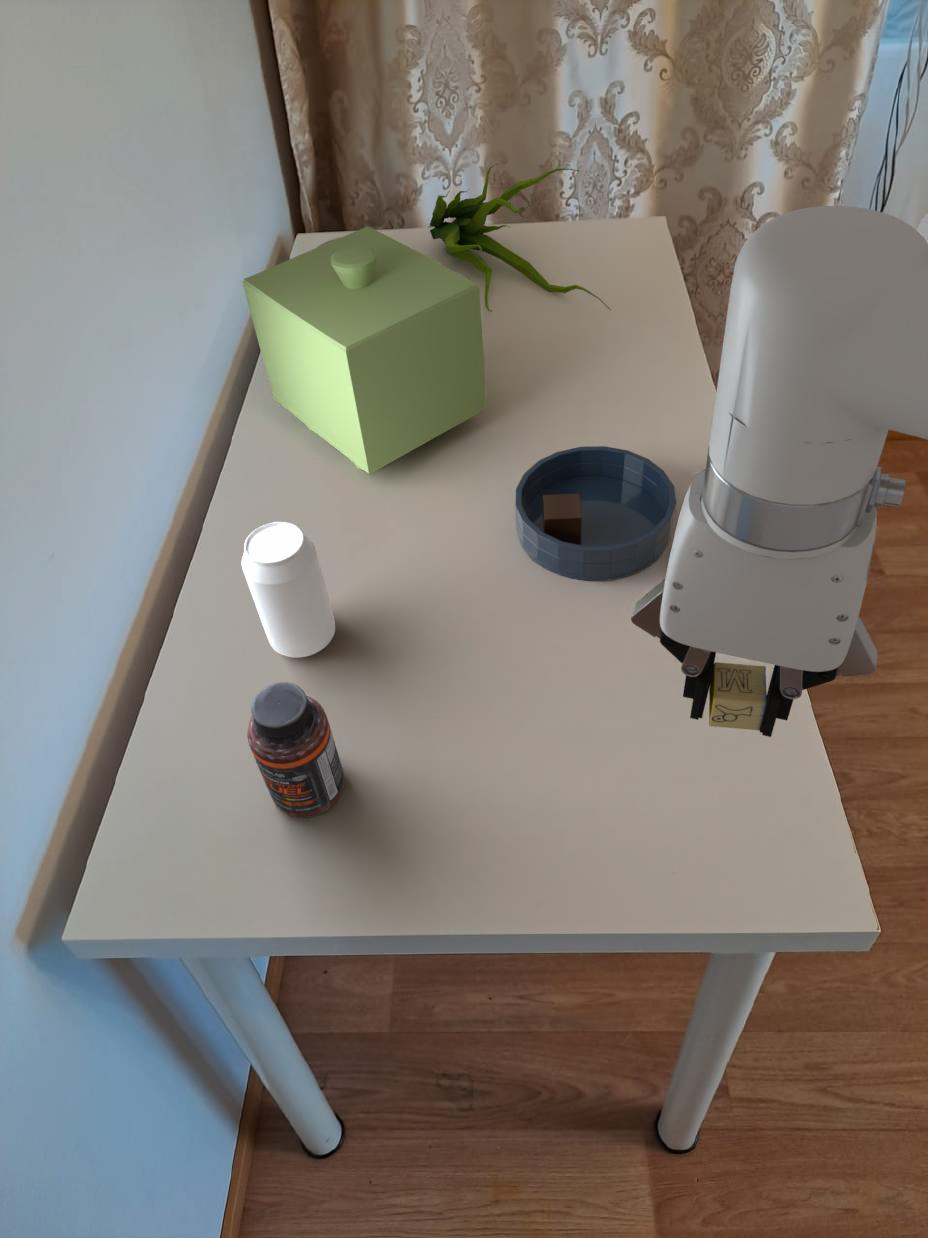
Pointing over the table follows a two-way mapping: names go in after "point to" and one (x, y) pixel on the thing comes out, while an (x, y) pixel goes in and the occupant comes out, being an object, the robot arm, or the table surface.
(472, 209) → the decorative plant
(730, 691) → the alphabet block
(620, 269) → the table surface
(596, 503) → the bowl
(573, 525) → the walnut cube
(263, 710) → the supplement bottle
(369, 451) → the container
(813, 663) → the robot arm
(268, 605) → the beverage can
